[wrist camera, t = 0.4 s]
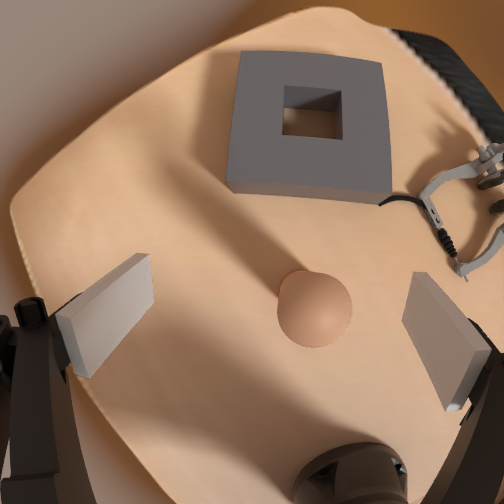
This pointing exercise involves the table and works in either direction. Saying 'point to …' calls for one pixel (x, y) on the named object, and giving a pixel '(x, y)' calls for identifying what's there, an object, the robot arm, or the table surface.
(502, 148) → the bike brake
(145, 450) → the table surface
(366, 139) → the socket block
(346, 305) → the peg
